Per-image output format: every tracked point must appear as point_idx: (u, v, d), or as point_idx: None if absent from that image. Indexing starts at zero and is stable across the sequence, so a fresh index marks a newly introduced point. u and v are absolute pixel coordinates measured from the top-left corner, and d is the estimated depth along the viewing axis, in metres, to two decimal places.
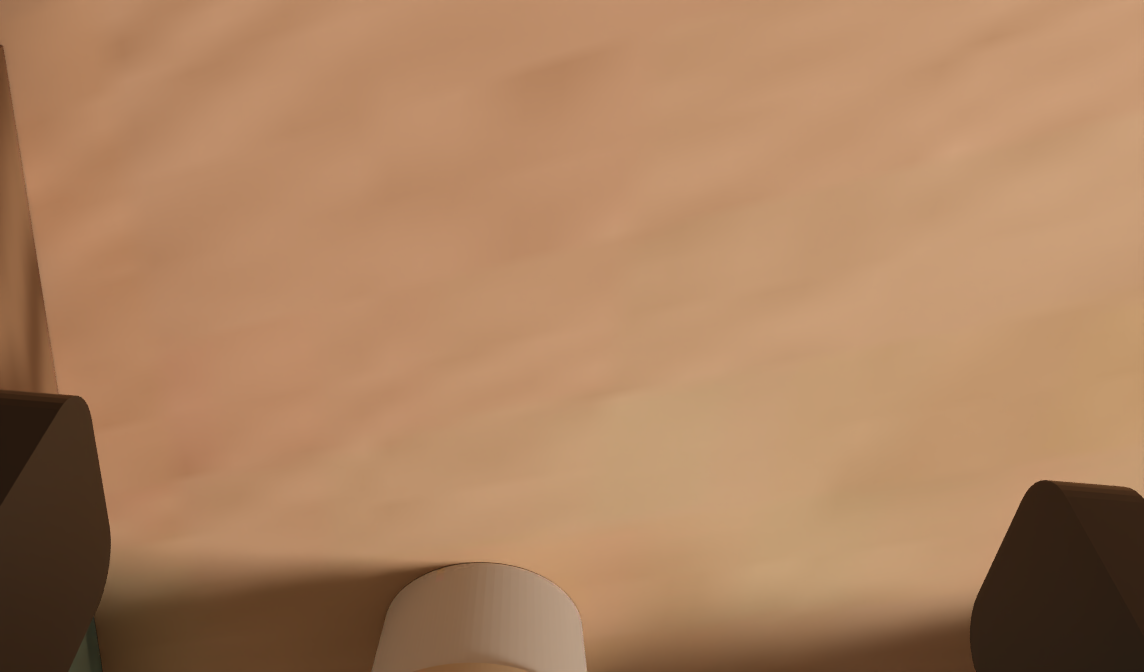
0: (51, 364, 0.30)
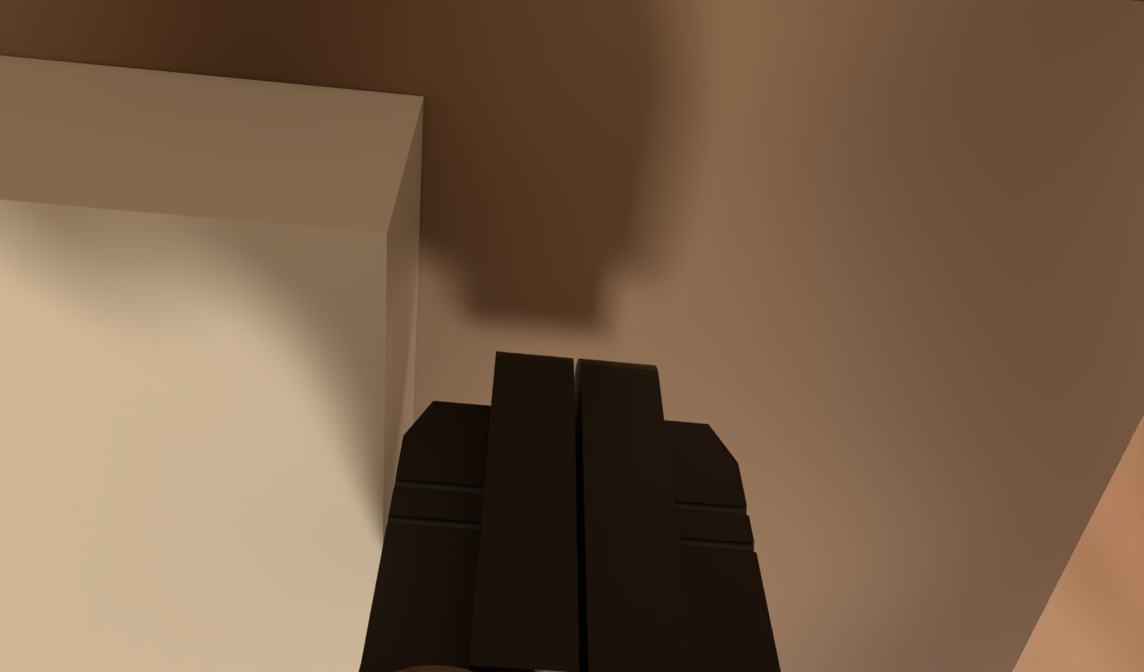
0: None
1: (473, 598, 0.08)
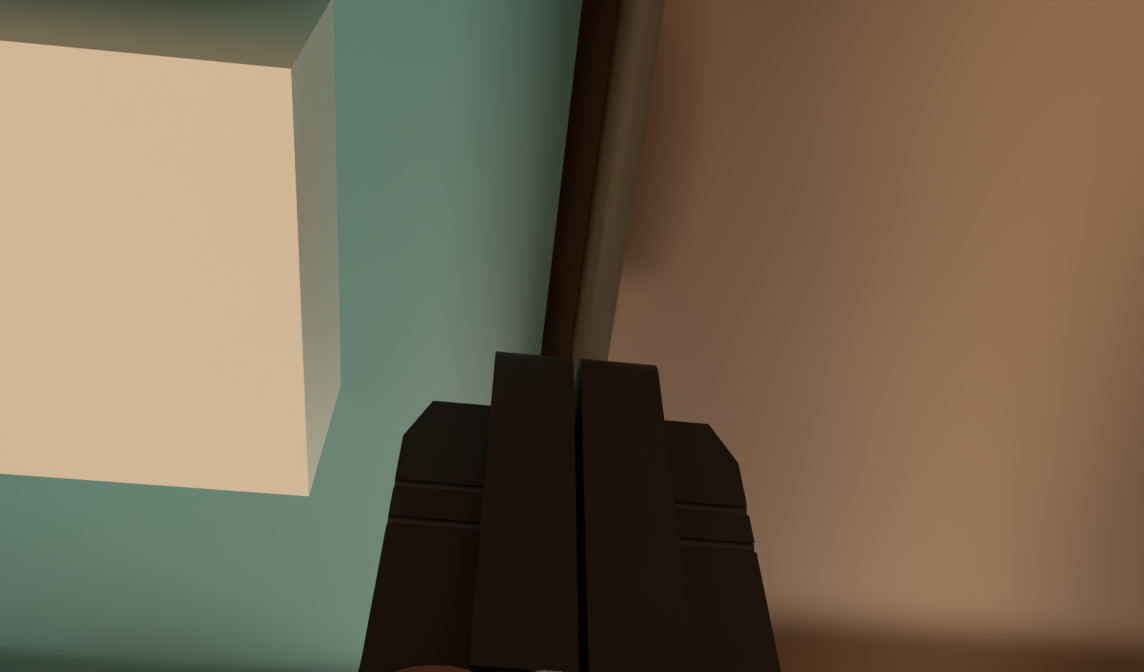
0: None
1: (472, 598, 0.08)
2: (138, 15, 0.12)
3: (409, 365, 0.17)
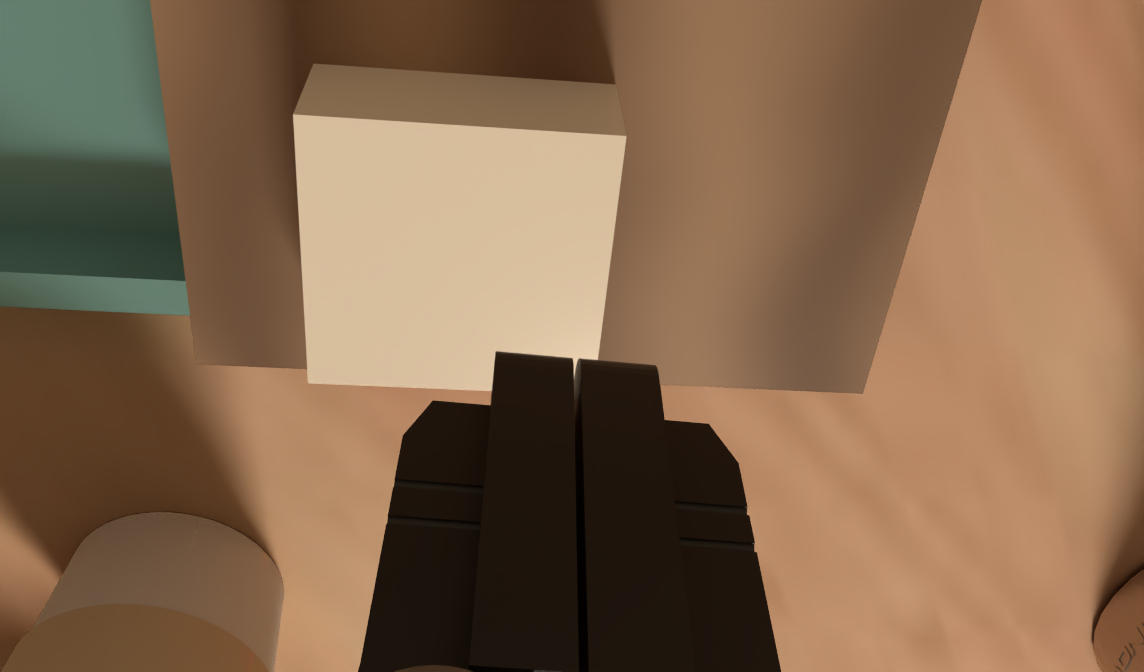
0: None
1: (473, 598, 0.08)
2: None
3: None
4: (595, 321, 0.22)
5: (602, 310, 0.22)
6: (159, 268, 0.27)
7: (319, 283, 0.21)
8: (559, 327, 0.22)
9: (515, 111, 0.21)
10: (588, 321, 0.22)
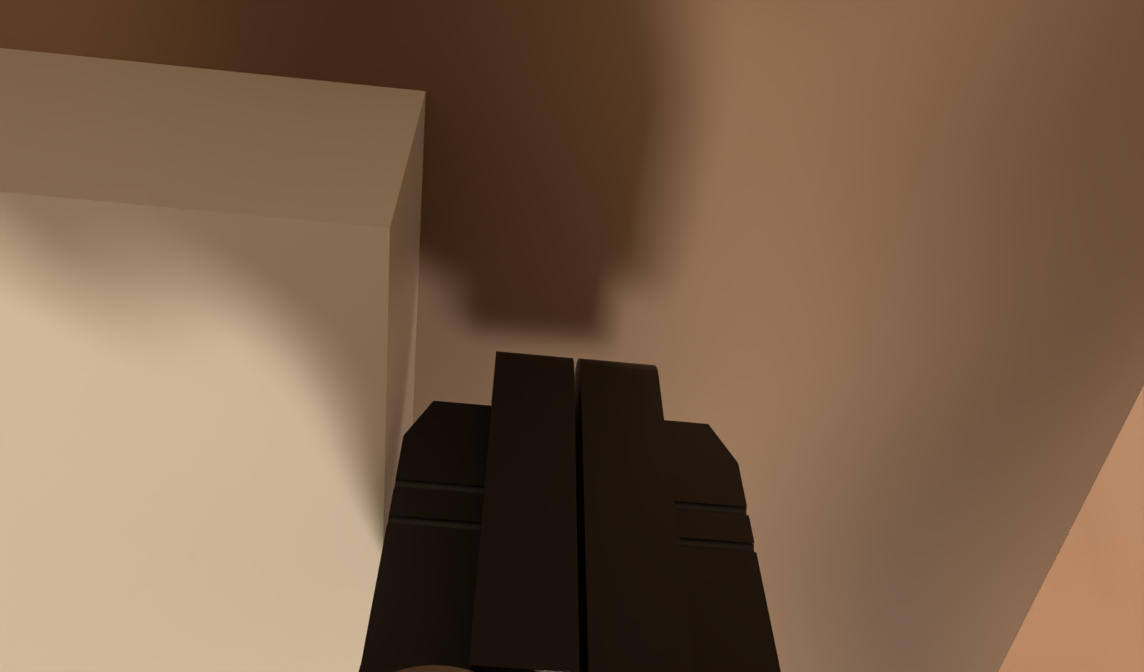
0: None
1: (472, 598, 0.08)
2: None
3: None
4: (364, 625, 0.10)
5: None
6: None
7: None
8: (284, 633, 0.10)
9: (128, 148, 0.08)
10: (349, 626, 0.10)
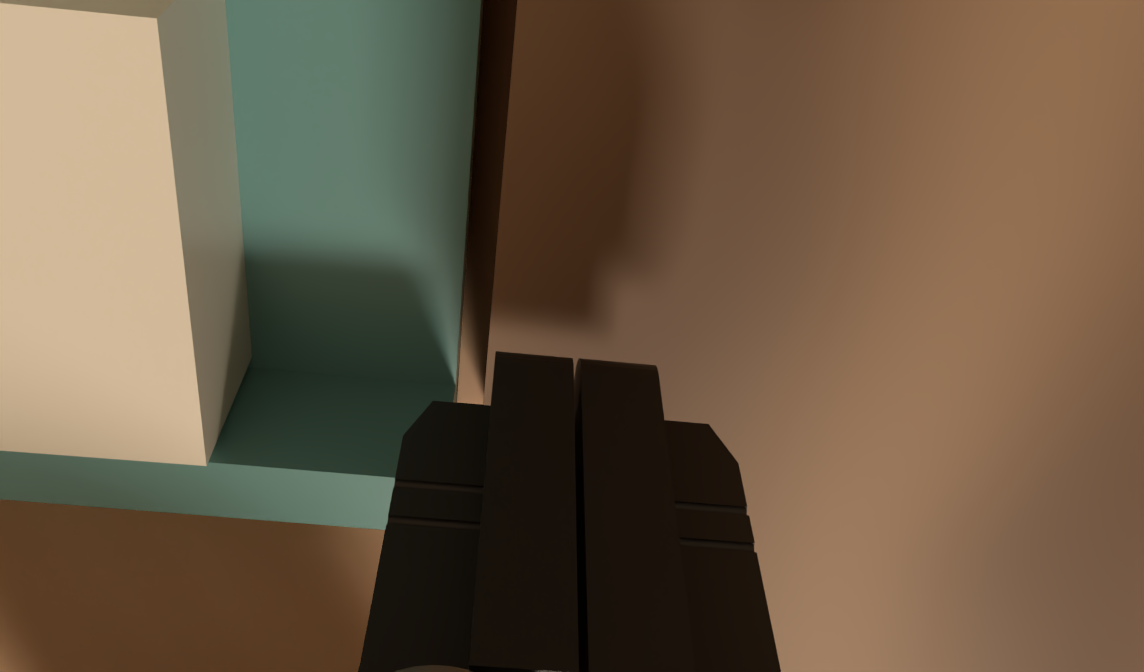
0: None
1: (472, 598, 0.08)
2: None
3: None
4: None
5: None
6: (385, 452, 0.15)
7: None
8: None
9: None
10: None
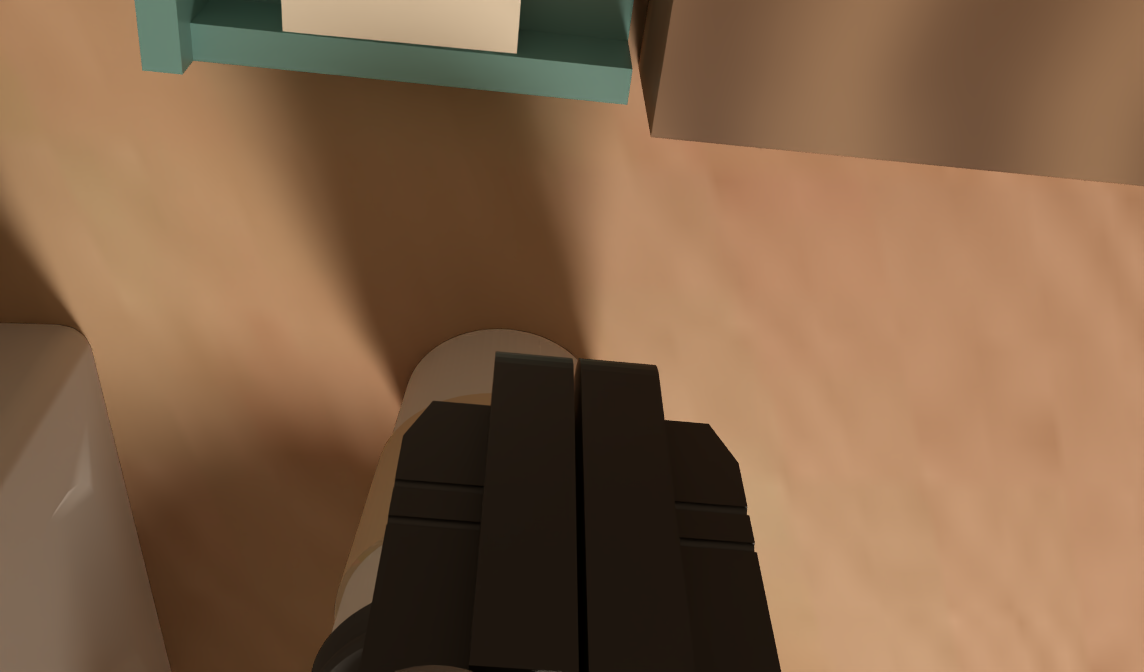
0: None
1: (473, 598, 0.08)
2: None
3: None
4: None
5: None
6: (600, 59, 0.29)
7: None
8: None
9: None
10: None
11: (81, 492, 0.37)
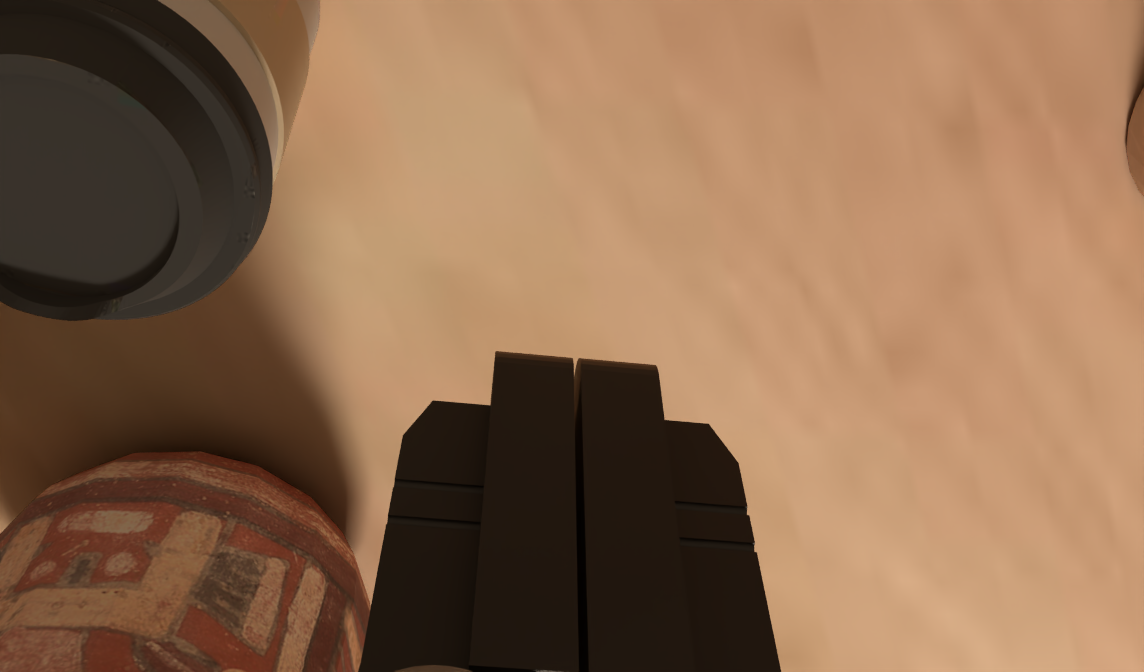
0: None
1: (473, 598, 0.08)
2: None
3: None
4: None
5: None
6: None
7: None
8: None
9: None
10: None
11: None
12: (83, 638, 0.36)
